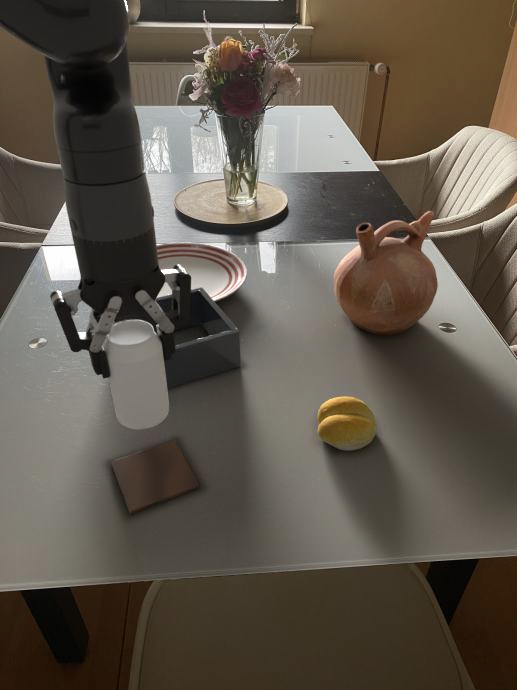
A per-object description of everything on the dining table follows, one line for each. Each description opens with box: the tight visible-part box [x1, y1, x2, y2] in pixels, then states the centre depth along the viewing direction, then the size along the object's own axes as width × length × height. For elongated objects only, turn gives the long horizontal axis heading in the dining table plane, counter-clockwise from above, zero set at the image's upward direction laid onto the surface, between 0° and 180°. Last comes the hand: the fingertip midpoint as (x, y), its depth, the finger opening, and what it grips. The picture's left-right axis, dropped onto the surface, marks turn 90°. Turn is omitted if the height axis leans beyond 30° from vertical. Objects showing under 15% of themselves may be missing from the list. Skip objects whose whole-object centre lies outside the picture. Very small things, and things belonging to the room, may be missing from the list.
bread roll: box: [317, 396, 378, 452], centre depth 75 cm, size 8×9×4 cm
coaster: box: [110, 439, 200, 515], centre depth 69 cm, size 9×9×1 cm
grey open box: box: [115, 287, 241, 389], centre depth 89 cm, size 16×16×7 cm
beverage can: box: [103, 320, 170, 430], centre depth 60 cm, size 6×6×12 cm
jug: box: [333, 210, 439, 336], centre depth 95 cm, size 18×18×20 cm
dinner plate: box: [156, 242, 248, 303], centre depth 111 cm, size 27×27×3 cm
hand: (135, 364), depth 59 cm, fingers closed on beverage can, 6 cm apart
